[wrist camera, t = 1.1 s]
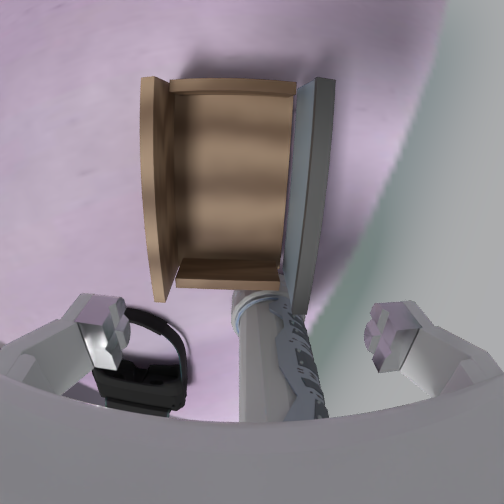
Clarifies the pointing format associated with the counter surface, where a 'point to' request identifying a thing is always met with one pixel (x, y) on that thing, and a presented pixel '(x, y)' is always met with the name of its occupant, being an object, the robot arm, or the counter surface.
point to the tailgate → (308, 188)
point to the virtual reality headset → (146, 376)
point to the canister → (274, 359)
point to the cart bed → (214, 181)
